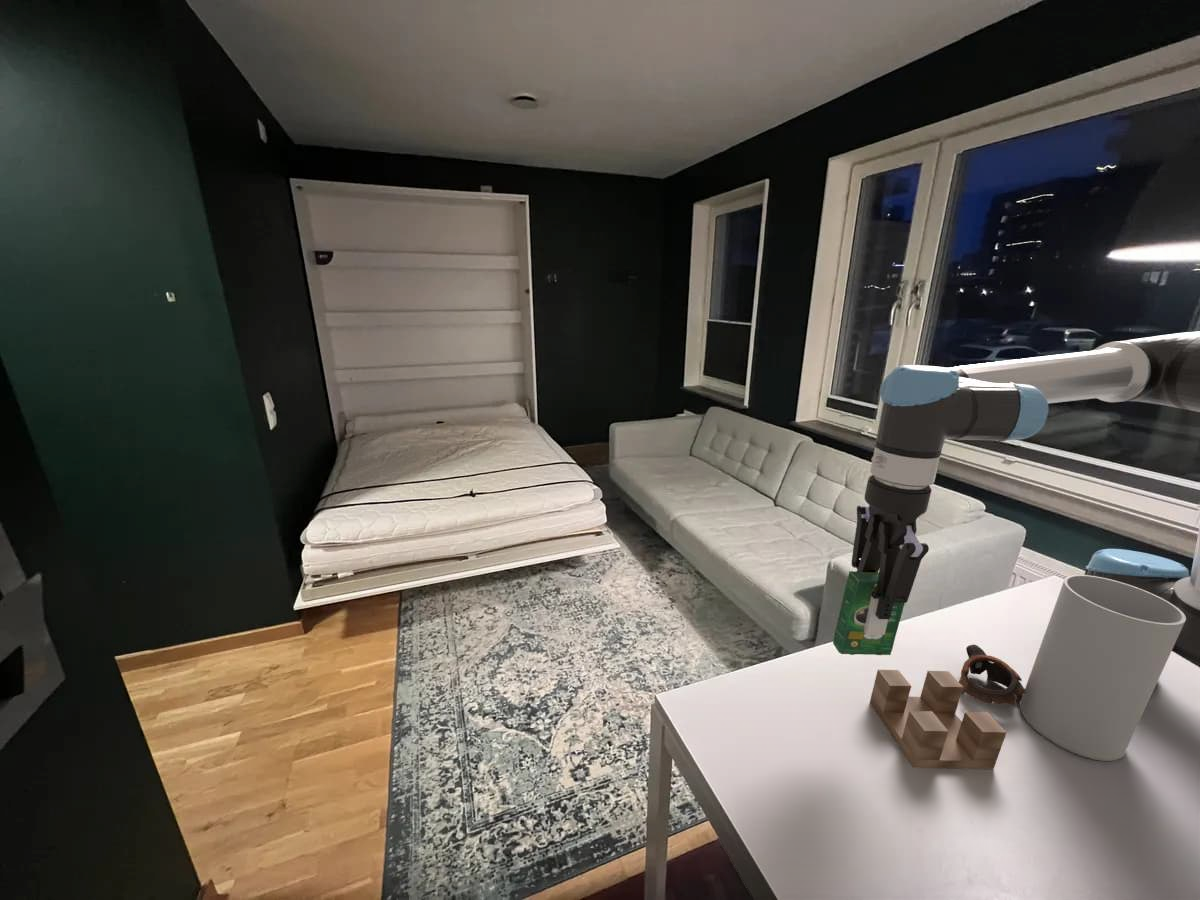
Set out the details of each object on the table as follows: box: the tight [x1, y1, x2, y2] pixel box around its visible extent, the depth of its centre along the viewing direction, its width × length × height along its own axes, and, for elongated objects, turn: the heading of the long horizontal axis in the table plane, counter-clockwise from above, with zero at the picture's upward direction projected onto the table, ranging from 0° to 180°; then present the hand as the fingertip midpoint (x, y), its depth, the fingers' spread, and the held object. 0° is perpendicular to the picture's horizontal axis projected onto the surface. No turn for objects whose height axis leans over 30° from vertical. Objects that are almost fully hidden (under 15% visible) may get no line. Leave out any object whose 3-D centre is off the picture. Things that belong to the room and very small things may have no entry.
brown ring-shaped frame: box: [958, 644, 1025, 707], centre depth 85 cm, size 12×10×8 cm
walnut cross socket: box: [869, 669, 1007, 770], centre depth 75 cm, size 12×12×7 cm
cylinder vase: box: [1019, 574, 1186, 762], centre depth 74 cm, size 12×12×25 cm
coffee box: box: [832, 570, 906, 656], centre depth 71 cm, size 8×3×13 cm, turn 90°
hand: (867, 624), depth 72 cm, fingers closed on coffee box, 3 cm apart
